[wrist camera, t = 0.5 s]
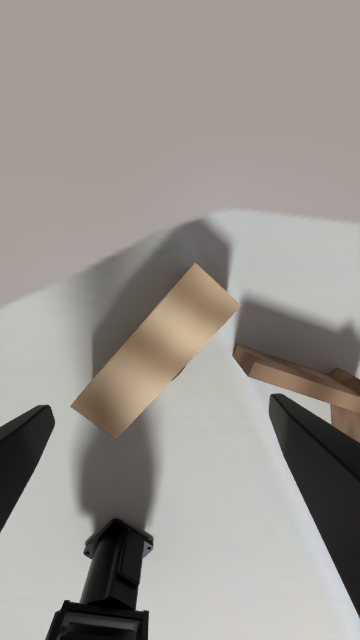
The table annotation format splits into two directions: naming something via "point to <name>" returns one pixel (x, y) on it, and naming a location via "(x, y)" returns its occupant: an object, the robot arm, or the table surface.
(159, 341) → the beam
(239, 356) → the v block
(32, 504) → the table surface
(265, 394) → the table surface
